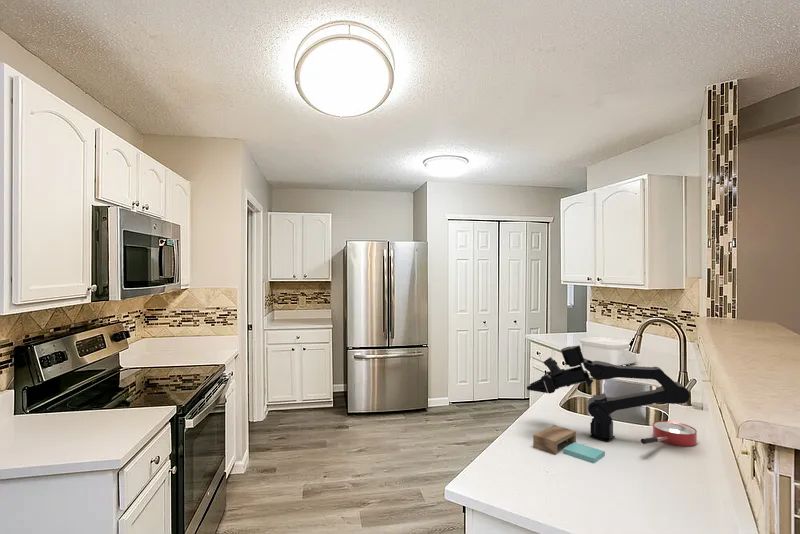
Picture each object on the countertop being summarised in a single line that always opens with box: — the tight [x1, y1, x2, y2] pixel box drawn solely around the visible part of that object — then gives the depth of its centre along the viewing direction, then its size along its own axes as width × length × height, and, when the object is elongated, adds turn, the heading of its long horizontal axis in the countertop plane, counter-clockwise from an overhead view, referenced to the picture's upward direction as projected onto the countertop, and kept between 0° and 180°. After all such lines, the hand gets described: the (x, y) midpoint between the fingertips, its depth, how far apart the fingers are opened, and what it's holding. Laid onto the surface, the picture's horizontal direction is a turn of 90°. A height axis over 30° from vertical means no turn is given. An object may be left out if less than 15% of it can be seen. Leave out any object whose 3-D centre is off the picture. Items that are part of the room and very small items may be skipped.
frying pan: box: [640, 420, 698, 447], centre depth 145 cm, size 32×13×6 cm, turn 134°
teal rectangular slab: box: [562, 441, 606, 464], centre depth 139 cm, size 10×8×2 cm
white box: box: [579, 336, 638, 366], centre depth 279 cm, size 34×29×15 cm
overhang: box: [532, 424, 577, 456], centre depth 146 cm, size 8×14×4 cm, turn 132°
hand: (528, 387), depth 162 cm, fingers open, 9 cm apart
